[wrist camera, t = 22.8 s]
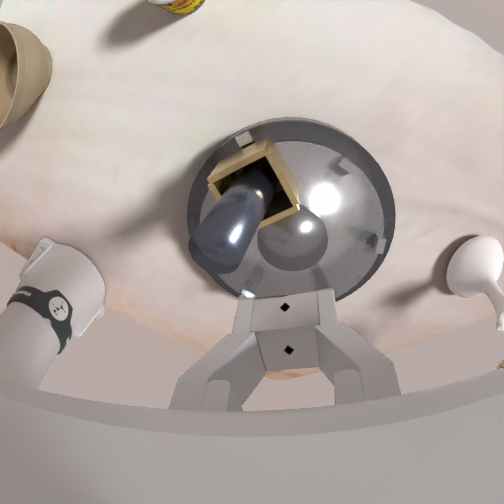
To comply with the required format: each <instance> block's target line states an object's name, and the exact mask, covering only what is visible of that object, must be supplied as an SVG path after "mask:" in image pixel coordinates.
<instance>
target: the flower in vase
mask: <svg viewBox="0 0 504 504" xmlns="http://www.w3.org/2000/svg"><path fill="white" fill-rule="evenodd" d="M503 261H504V256H503V251H502V247H501V245H500V243H499V242H498V241H497V240H496V239H495V238H493V237H491V236H477V237H474V238H472V239H470V240H468V241H466V242H465V243H464V244H462V245H461V246H460V247H459V248H458V249H457V251H456V252H455V253H454V255H453V256H452V258H451V260H450V262H449V265H448V269H447V275H446V280H447V285H448V287H449V289H450V290H451V291H452V292H453V293H454V294H456V295H458V296H460V297H465V298H469V297H475V296H479V295H481V294H483V293H485V294H486V295H487V296H488V297H489V299H490V300H491V302H492V304H493V306H494V308H495V311H496V314H497V321H496V328H497V329H498V330H499V331H504V293H503V292H502V290H501V289H500V288H499V286H498V285H497V282H496V281H497V279H498V278H499V276H500V273H501V270H502V266H503ZM499 364H500V365H498V366H499V367H497V370H498V369H501V368H504V360H502V362H500V363H499Z"/></svg>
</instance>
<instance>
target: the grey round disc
mask: <svg viewBox="0 0 504 504" xmlns="http://www.w3.org/2000/svg"><path fill="white" fill-rule="evenodd" d="M263 156H266V158H267V159H268V161H269V163H270V165H271V166H272V168H273V170H274V172H275V174H276V175H277V177H278V179H279V181H280V184H279V186H278V188H277V190H276V192H275V194H274V196H273V198H272V200H271V202H270V204H269V206H268V208H267V210H266V212H265V214H264V216H263V218H262V220H261V222H260V224H259V226H258V228H257V230H256V232H255V235H254V237H253V239H252V241H251V243H250V245H249V247H248V249H247V251H246V253H245V255H244V257H243V259H242V261H241V263H240V265H239V267H238V268H237V269H236V270H235V271H234V272H232V273H229V274H218V275H219V277H220V278H221V279H222V280H223V281H224V282H225V283H226V284H227V285H229V286H230V287H231V288H232V289H234V290H235V291H236V292H238V293H239V295H238V300H240V299H246V298H256V297H267V296H278V295H290V294H298V293H306V292H314V291H317V290H324V289H330V288H332V289H333V291H334V297H335V298H337V297H339V296H340V295H342V294H344V293H346V292H347V291H348V290H350V289H351V288H353V287H354V286H355V285H356V284H357V283H358V282H359V281H360V280H361V279H362V278H363V277H364V276H365V275H366V274H367V272H368V271H369V270H370V268H371V267H372V265H373V264H374V262H375V260H376V258H377V256H378V254H383V252H384V248H385V243H386V237H385V236H384V234H383V233H384V217H383V210H382V206H381V203H380V199H379V197H378V195H377V192H376V190H375V188H374V187H373V185H372V183H371V182H370V180H369V179H368V177H367V176H366V175H365V174H364V172H363V171H362V170H361V169H360V168H359V167H358V166H357V165H356V164H355V163H354V162H353V161H351V160H350V159H349V158H348V157H346V156H345V155H343V154H342V153H340V152H338V151H337V150H334V149H332V148H330V147H328V146H325V145H322V144H319V143H315V142H311V141H304V140H280V141H274V140H272V141H271V140H270V138H269V136H267V137H265V138H263V139H261V140H260V141H258V142H256V143H254V144H252V145H250V146H248V147H246V148H244V149H242V150H240V151H238V152H236V153H235V154H233V155H231V156H229V157H227V158H225V159H224V160H222V161H220V162H219V163H218V164H217V166H216V167H215V168H214V170H213V171H212V172H211V174H210V175H209V176H208V178H207V180H208V182H209V184H208V187H209V190H208V192H207V194H206V196H205V199H204V202H203V205H202V208H201V215H200V223H199V224H198V226H197V228H198V227H199V225H200V224H201V223H202V221H203V220H204V219H205V217H206V216H207V215H208V213H209V212H210V211H211V209H212V208H213V207H214V205H215V204H216V203H217V202H218V200H219V199H220V198H221V196H222V195H223V194H224V192H225V191H226V190H227V189H228V187H229V186H230V185H231V183H232V182H233V181H234V180H235V178H236V177H237V176H238V174H239V173H240V172H241V171H242V169H243V168H244V167H245V166H246V165H248V164H250V163H252V162H254V161H256V160H258V159H260V158H262V157H263Z"/></svg>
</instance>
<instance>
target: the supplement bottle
mask: <svg viewBox="0 0 504 504" xmlns="http://www.w3.org/2000/svg"><path fill="white" fill-rule="evenodd" d="M147 1H149V2H151V3H153V4H155V5H157V6H159V7H161V8H163V9H165V10H167V11H169V12H171V13H174V14H179V15H184V14H189V13H192V12H194V11H196V10H197V9H199V8H200V7H201V6H202V5H203V4H204V2H205V0H147Z"/></svg>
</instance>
